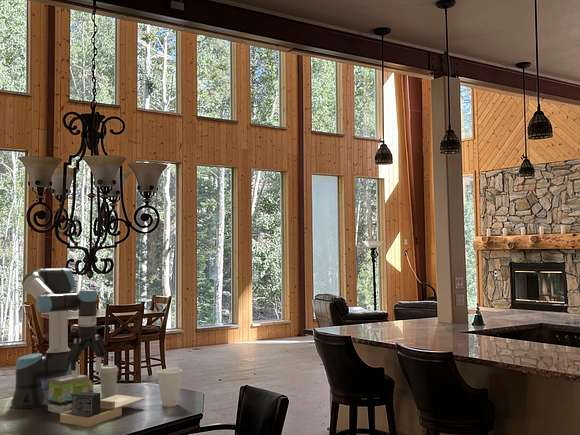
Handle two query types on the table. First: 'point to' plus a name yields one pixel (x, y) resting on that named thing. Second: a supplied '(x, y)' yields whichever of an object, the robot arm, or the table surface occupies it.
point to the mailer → (84, 421)
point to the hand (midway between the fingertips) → (86, 375)
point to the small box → (85, 404)
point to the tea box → (65, 392)
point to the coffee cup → (108, 380)
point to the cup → (169, 385)
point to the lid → (118, 401)
